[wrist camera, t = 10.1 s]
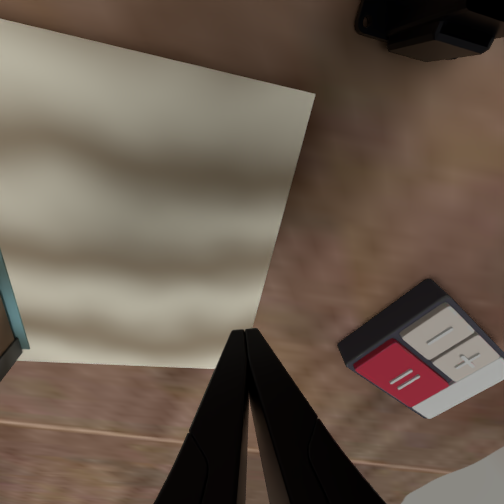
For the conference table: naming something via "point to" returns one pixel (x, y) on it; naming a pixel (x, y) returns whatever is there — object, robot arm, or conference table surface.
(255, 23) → the conference table surface
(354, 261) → the conference table surface
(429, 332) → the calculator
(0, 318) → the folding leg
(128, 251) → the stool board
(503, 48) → the conference table surface
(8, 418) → the conference table surface
